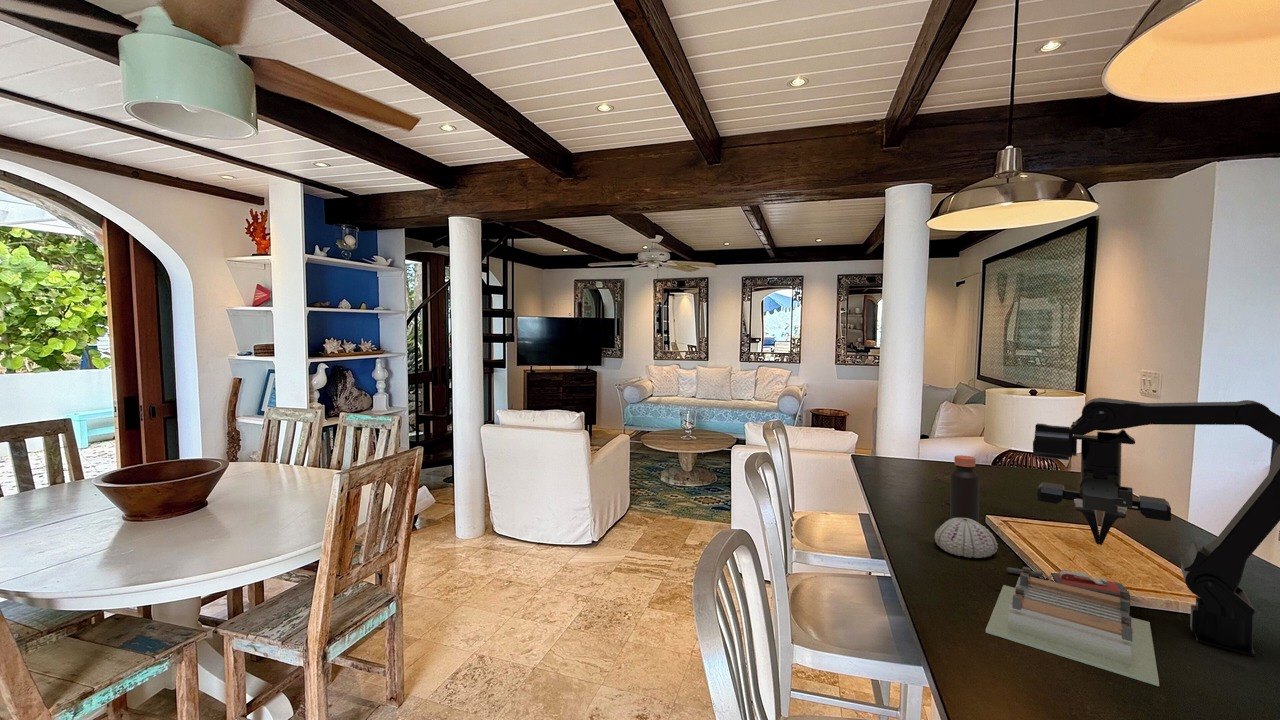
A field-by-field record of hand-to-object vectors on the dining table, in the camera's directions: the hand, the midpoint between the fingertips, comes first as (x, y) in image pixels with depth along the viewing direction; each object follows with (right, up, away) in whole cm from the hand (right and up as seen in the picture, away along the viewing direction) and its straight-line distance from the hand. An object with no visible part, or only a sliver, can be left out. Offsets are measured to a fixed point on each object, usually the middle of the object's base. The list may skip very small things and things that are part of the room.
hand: (1099, 544), depth 99 cm
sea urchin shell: (-8, -12, +29) cm, 33 cm away
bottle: (+2, -12, +44) cm, 45 cm away
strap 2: (-15, -9, -10) cm, 20 cm away
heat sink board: (-11, -13, -6) cm, 18 cm away
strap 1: (-7, -9, -2) cm, 11 cm away
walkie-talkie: (+1, -13, +9) cm, 16 cm away
